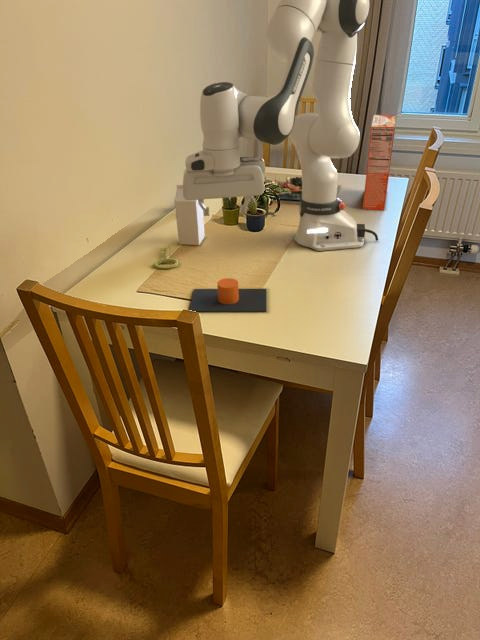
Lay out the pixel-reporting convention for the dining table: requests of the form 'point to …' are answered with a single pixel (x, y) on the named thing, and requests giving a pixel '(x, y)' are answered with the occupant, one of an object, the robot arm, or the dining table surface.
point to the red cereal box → (379, 161)
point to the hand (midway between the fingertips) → (225, 213)
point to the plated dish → (289, 190)
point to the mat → (247, 303)
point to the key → (166, 260)
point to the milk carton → (188, 219)
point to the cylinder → (228, 291)
